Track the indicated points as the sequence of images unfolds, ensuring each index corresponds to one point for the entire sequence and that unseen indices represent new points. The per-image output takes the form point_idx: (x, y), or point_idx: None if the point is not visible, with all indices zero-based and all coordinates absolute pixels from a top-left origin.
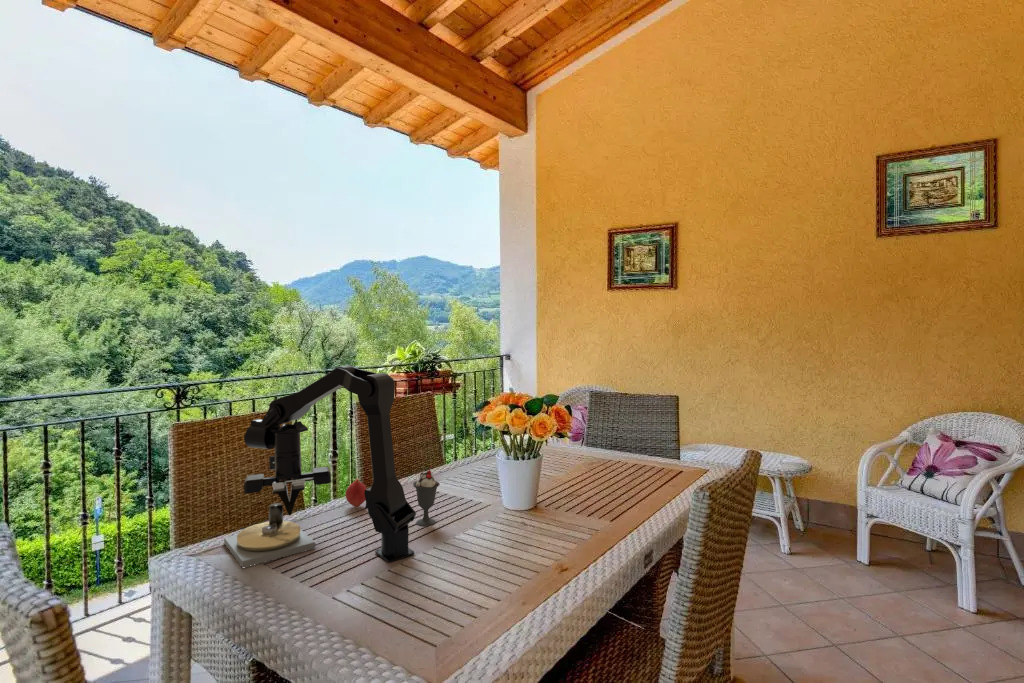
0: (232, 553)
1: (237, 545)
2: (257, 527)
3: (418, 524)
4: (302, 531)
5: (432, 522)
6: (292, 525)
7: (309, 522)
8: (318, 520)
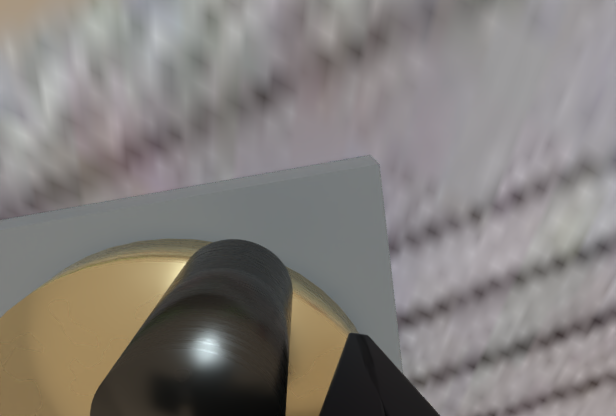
0: None
1: None
2: (91, 339)
3: None
4: (399, 367)
5: None
6: None
7: (511, 101)
8: (584, 92)
